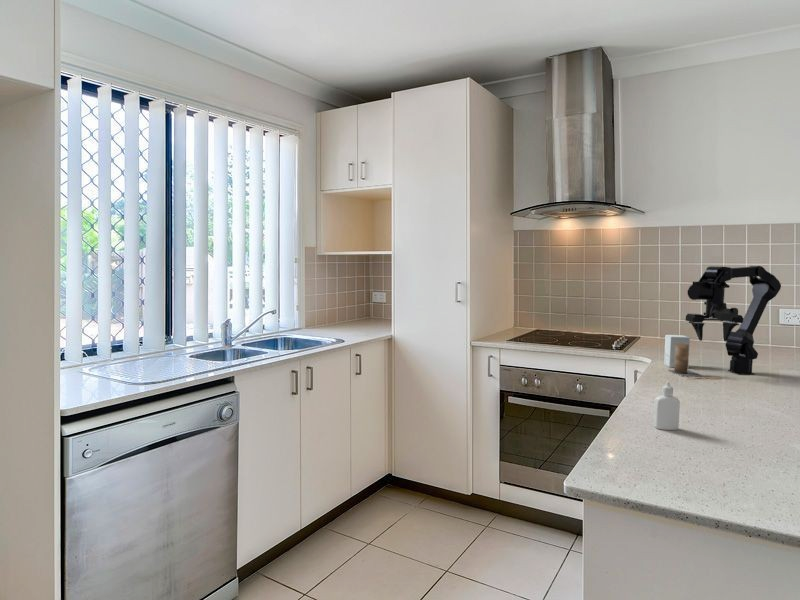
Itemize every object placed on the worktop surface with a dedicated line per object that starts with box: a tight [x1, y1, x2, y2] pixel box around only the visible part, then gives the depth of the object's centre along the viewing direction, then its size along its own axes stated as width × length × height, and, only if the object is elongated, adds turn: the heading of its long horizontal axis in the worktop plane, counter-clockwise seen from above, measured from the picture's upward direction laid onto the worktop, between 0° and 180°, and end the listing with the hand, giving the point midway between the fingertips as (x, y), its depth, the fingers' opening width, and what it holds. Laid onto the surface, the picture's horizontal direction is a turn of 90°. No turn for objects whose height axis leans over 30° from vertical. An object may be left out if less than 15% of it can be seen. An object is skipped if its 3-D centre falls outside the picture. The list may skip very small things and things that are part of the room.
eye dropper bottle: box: [653, 381, 680, 431], centre depth 132 cm, size 4×6×12 cm
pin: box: [673, 343, 690, 374], centre depth 199 cm, size 4×4×11 cm
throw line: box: [685, 377, 721, 380], centre depth 191 cm, size 12×1×1 cm, turn 90°
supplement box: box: [663, 334, 691, 368], centre depth 214 cm, size 7×7×13 cm
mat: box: [668, 369, 704, 377], centre depth 199 cm, size 8×10×1 cm
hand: (712, 340), depth 197 cm, fingers open, 9 cm apart
